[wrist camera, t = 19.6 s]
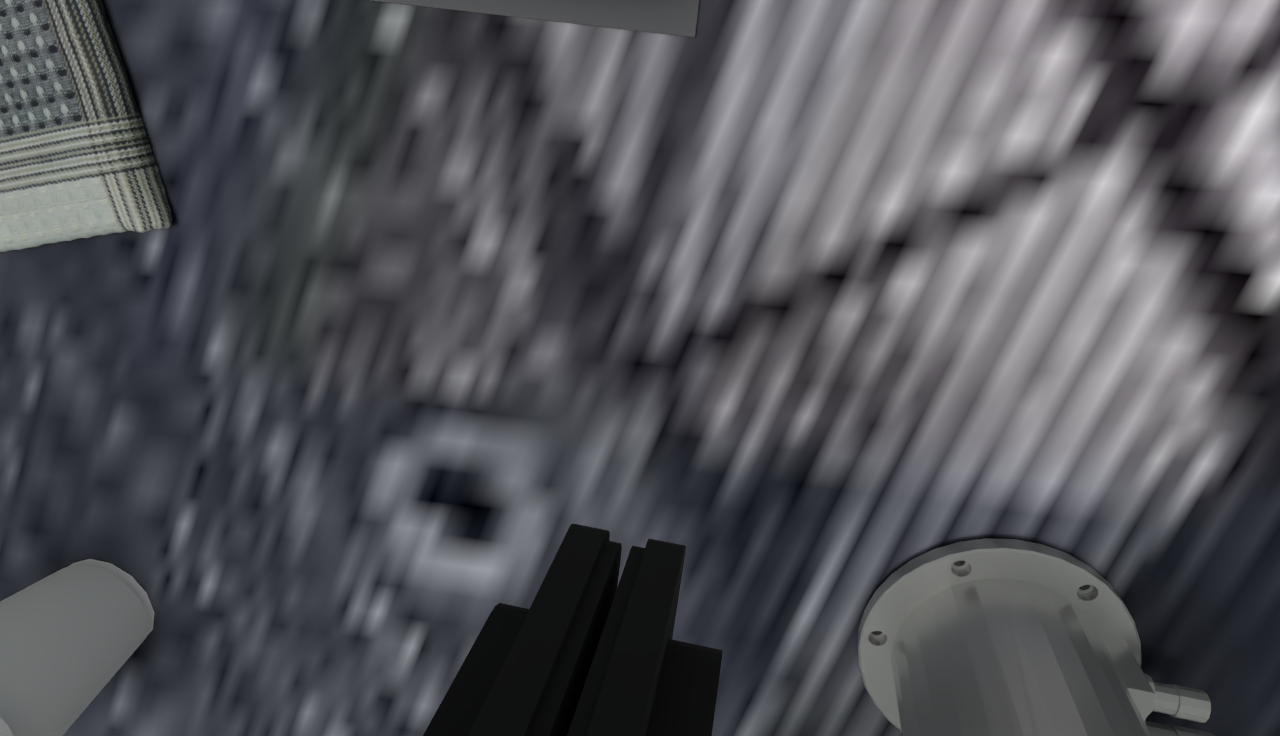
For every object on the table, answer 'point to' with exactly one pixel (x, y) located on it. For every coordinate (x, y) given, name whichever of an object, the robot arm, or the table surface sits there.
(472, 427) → the table surface
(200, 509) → the table surface
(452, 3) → the dock mat
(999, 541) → the robot arm
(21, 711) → the foam cup
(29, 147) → the dish towel
